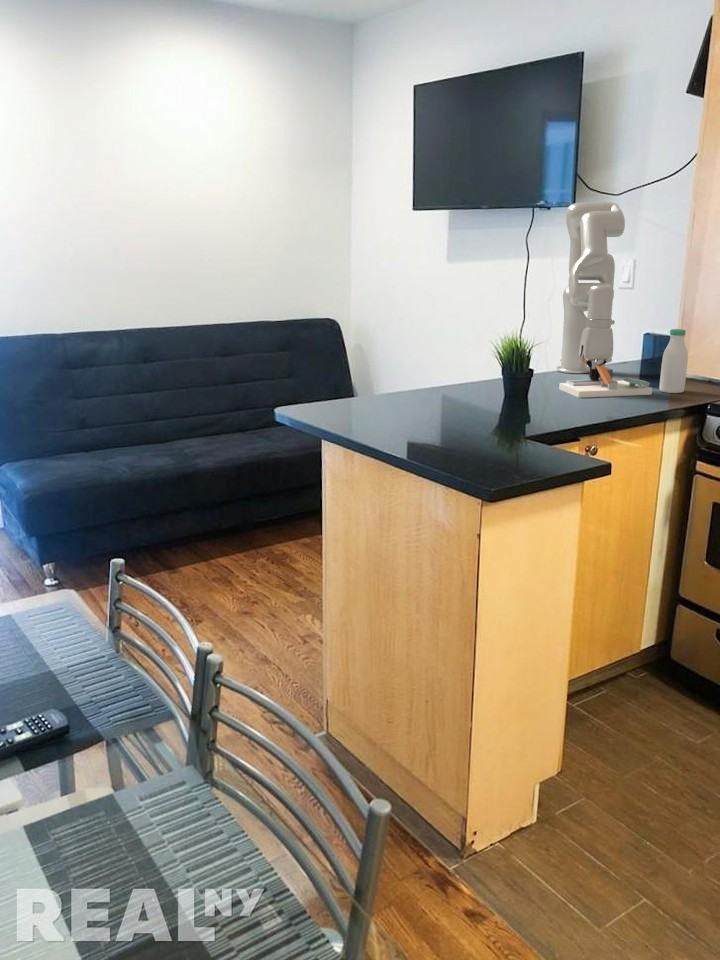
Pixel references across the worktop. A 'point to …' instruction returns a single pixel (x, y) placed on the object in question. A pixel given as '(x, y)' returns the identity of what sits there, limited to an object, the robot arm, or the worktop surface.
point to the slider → (608, 372)
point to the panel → (603, 388)
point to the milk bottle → (674, 363)
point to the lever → (603, 372)
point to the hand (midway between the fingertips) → (594, 380)
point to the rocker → (636, 381)
